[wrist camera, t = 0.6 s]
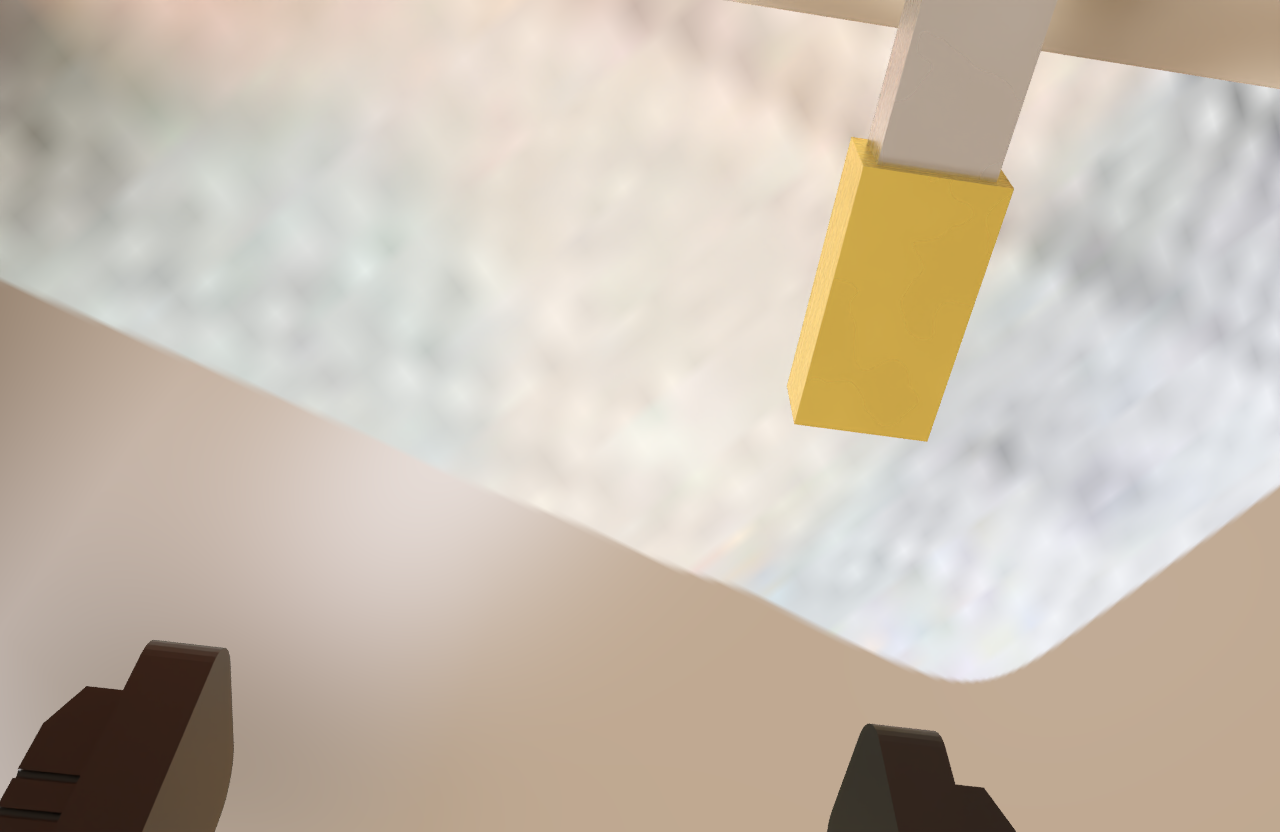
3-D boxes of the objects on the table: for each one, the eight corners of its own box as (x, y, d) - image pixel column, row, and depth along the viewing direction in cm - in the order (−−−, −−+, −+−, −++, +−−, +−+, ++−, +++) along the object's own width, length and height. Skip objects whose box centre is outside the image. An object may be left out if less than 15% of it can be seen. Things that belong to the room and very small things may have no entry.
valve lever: (978, -417, 20) (1022, -424, 18) (1147, -385, 21) (1211, -386, 18) (782, 359, 29) (794, 423, 26) (903, 376, 29) (927, 441, 27)
